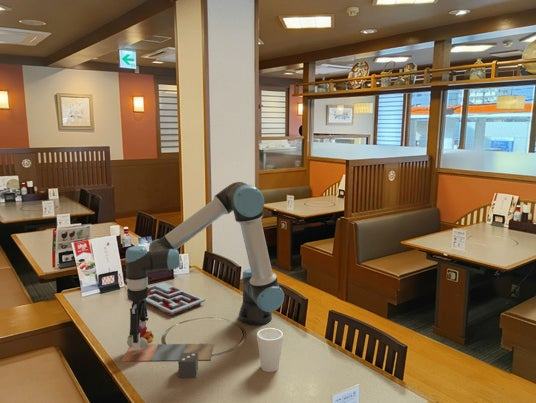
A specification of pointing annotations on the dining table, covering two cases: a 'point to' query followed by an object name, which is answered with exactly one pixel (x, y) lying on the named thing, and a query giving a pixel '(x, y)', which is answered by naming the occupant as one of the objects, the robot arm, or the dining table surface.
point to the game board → (168, 352)
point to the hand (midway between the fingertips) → (139, 343)
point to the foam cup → (269, 348)
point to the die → (188, 365)
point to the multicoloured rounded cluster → (142, 337)
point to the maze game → (171, 299)
